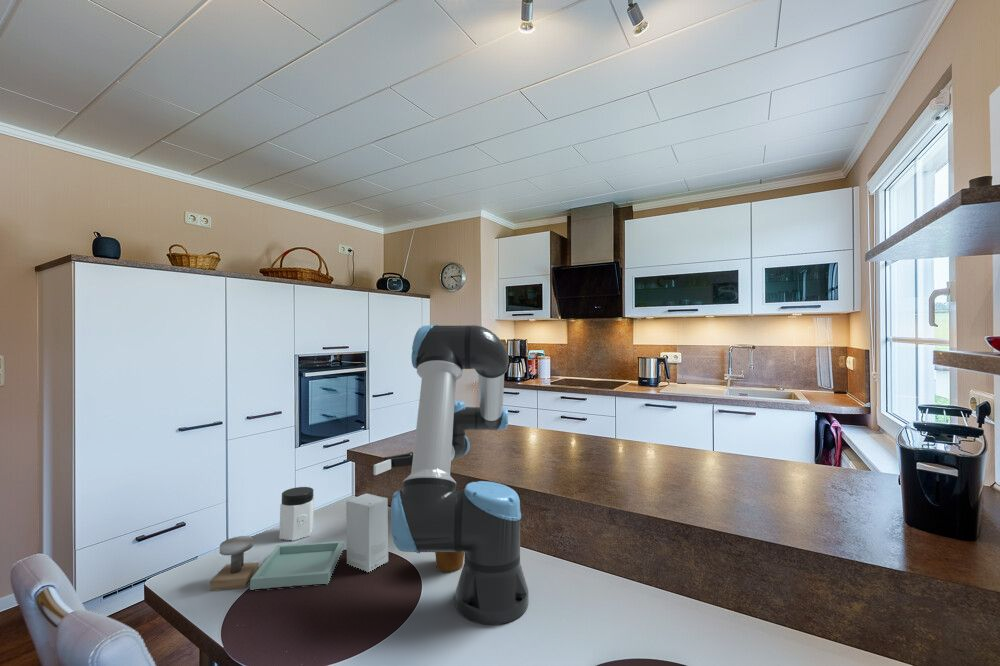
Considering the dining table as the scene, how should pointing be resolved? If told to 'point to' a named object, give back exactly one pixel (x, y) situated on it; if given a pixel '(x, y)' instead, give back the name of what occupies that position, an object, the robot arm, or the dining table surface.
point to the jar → (296, 513)
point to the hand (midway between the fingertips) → (394, 473)
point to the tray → (298, 565)
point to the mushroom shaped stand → (235, 565)
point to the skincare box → (367, 531)
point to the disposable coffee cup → (449, 561)
